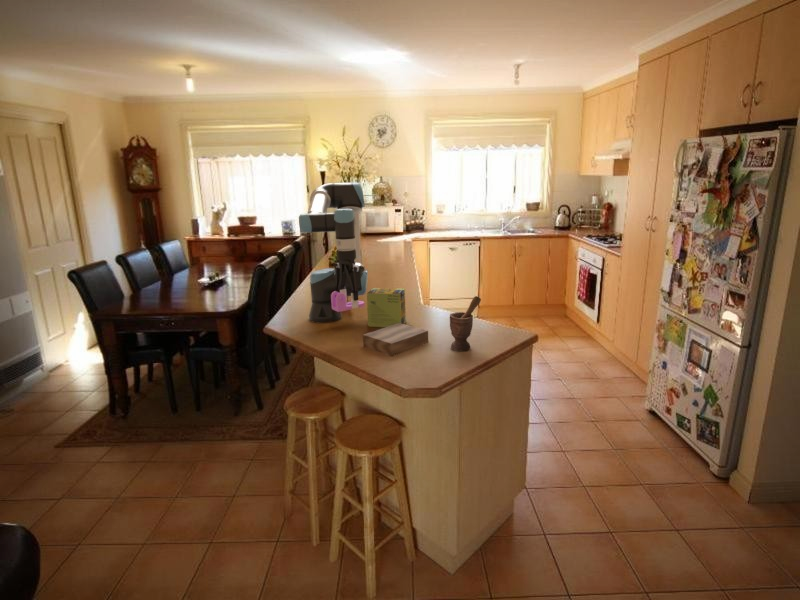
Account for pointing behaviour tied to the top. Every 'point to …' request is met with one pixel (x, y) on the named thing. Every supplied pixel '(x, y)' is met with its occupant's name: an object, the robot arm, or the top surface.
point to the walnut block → (395, 339)
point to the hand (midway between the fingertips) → (349, 306)
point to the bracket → (342, 302)
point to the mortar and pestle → (462, 326)
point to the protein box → (386, 307)
